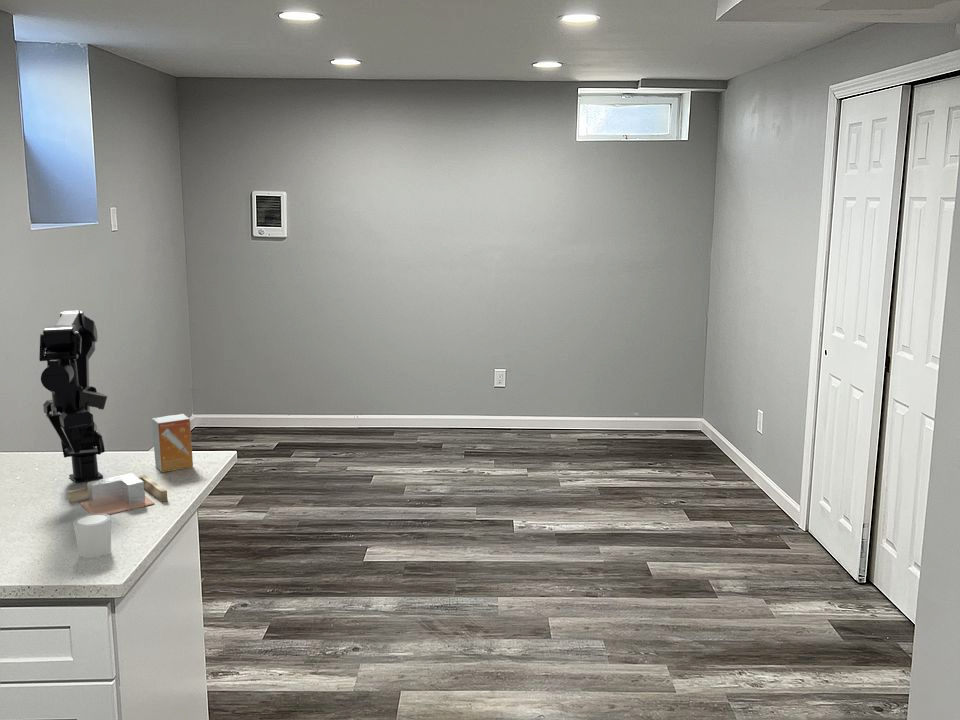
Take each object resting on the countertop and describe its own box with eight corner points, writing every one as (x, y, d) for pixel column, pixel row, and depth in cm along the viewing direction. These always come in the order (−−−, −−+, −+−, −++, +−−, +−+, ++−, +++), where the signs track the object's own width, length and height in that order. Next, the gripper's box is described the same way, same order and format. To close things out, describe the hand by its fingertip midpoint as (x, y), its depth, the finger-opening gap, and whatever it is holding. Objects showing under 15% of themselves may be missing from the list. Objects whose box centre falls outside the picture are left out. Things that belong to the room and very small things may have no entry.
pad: (80, 504, 205) (80, 503, 205) (138, 491, 213) (138, 490, 213) (94, 517, 197) (94, 516, 197) (154, 504, 205) (154, 503, 205)
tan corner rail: (69, 501, 207) (67, 491, 207) (146, 484, 218) (145, 475, 217) (87, 519, 196) (86, 508, 195) (167, 500, 207) (166, 490, 206)
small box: (161, 473, 227) (157, 423, 224) (155, 466, 232) (151, 417, 229) (194, 467, 231) (190, 418, 229) (187, 461, 236) (183, 413, 234)
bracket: (133, 493, 211) (131, 473, 210) (145, 502, 205) (143, 481, 204) (89, 503, 205) (87, 482, 204) (99, 513, 199) (97, 491, 198)
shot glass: (83, 546, 181) (80, 513, 180) (118, 545, 182) (115, 512, 180) (71, 560, 175) (67, 526, 173) (107, 559, 175) (104, 525, 174)
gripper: (114, 383, 202) (120, 450, 205) (89, 370, 216) (95, 433, 219) (61, 391, 195) (68, 460, 198) (39, 377, 209) (46, 442, 212)
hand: (71, 448), depth 207 cm, fingers open, 9 cm apart
